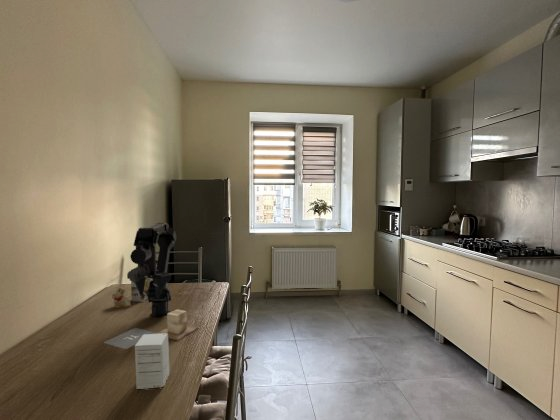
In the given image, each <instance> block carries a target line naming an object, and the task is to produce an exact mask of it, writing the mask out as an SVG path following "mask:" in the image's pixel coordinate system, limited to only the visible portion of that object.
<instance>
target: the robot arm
mask: <svg viewBox="0 0 560 420" xmlns="http://www.w3.org/2000/svg"><path fill="white" fill-rule="evenodd" d="M176 241H177V233H176V231H175V229H174V228H172V227H171V226H170V225H169V223H168V222H157V223H155V224H154V225H151V226H150V227H139V228H138V229H137V230H136V233H135V238H134V242H133V246H134V247H135V249H133V250H132V251H131V254H130V257H129V258H130V260H131V262H132V263H134V264H136V265H137V266H136V267H134V268H133V270H132V269H130V270H129V271H128V272H127V274H126V275H127V276H126V277H127V279H129V281H130V282H131V281H132V282H134V283H135V285H136V287H137V289H138V291H139V294H140V296H142V295H143V292H144V286H145V280H146V278H151V279H152V281H150V285H149V289H148V291H147V296H148V299H147V300H148V301H147V302H148V303H151V313H150V314H149V316H151V317H155V318H162V317H165V316H166V315H167V314H168V313H170V312H172V311H169V302H170V301H172V293H171V290H170V288H169V284H168V283H169V282H170V281H171V280H172V275H171V273H170V272H167V271H168V265H169V260H170V254H171V253H170V252H171V250H172V249H173V247H174V246H175V244H176V243H175V242H176ZM157 245H158V247H159V251H158V257H157V253H156V252H157V251H156V249H157V247H156V246H157Z"/></svg>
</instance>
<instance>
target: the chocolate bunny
mask: <svg viewBox="0 0 560 420" xmlns="http://www.w3.org/2000/svg"><path fill="white" fill-rule="evenodd" d="M125 291H126V289H125V288H124V287H123V286H119V288H117V289H116V291H115V292H113V293H112V296H111V297H112V299H113V304H114V308H117V309H125V308H130V307H132V304H131V301H130V300H129V298H127V297H125V296H124V294H125Z"/></svg>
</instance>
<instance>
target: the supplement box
mask: <svg viewBox="0 0 560 420" xmlns="http://www.w3.org/2000/svg"><path fill="white" fill-rule="evenodd" d="M169 353H170V352H169V338H168V333H161V334H144V335H143V336H142V337H141V338H140V340H139V341H138V342H137V344H135V345H134V356H135V357H134V358H135V359H134V360H135V361H134V362H135V381H136V383H135V385H136V386H135V387H136V390H137V389H143V388H154V387H163V386H164V387H165V385H166V383H167V381H166V380H168V378H169V375H170V373H171V372H170V356H169V355H170V354H169Z"/></svg>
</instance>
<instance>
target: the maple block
mask: <svg viewBox="0 0 560 420" xmlns="http://www.w3.org/2000/svg"><path fill="white" fill-rule="evenodd" d="M187 314H188V313H187V311H186V310H182V309H175V310H173V311H171V312H170V313H168V314H167V316H166V317H167V318H166V319H167V328H168V332H171V333H176V334H179V333H180V332H182V331H184V330H186V329H187V325H188V323H187V320H188V318H187Z"/></svg>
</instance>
